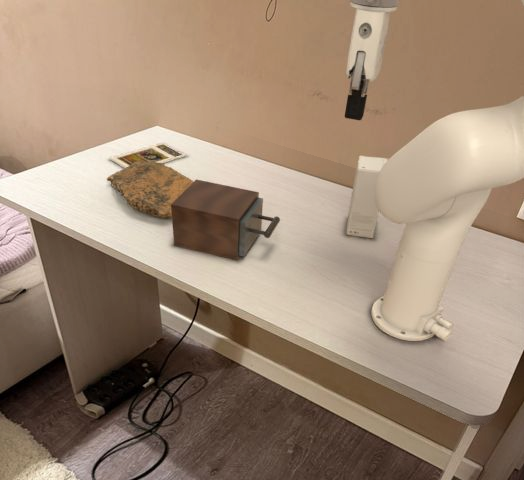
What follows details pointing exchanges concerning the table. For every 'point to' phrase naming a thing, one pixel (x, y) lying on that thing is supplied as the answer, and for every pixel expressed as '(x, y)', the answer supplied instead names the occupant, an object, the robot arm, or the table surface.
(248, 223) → the drawer
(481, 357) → the table surface
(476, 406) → the table surface
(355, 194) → the white tower device
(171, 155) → the trading card
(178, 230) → the cabinet
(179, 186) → the rock
